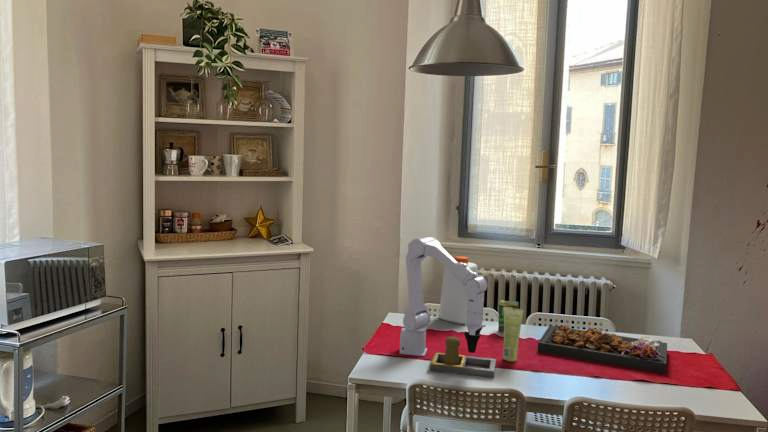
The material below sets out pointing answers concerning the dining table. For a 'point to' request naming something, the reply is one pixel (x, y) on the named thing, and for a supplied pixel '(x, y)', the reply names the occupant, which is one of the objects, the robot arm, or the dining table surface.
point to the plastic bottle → (454, 295)
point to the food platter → (605, 348)
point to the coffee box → (501, 313)
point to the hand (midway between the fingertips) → (472, 348)
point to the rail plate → (464, 366)
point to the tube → (511, 332)
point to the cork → (452, 351)
